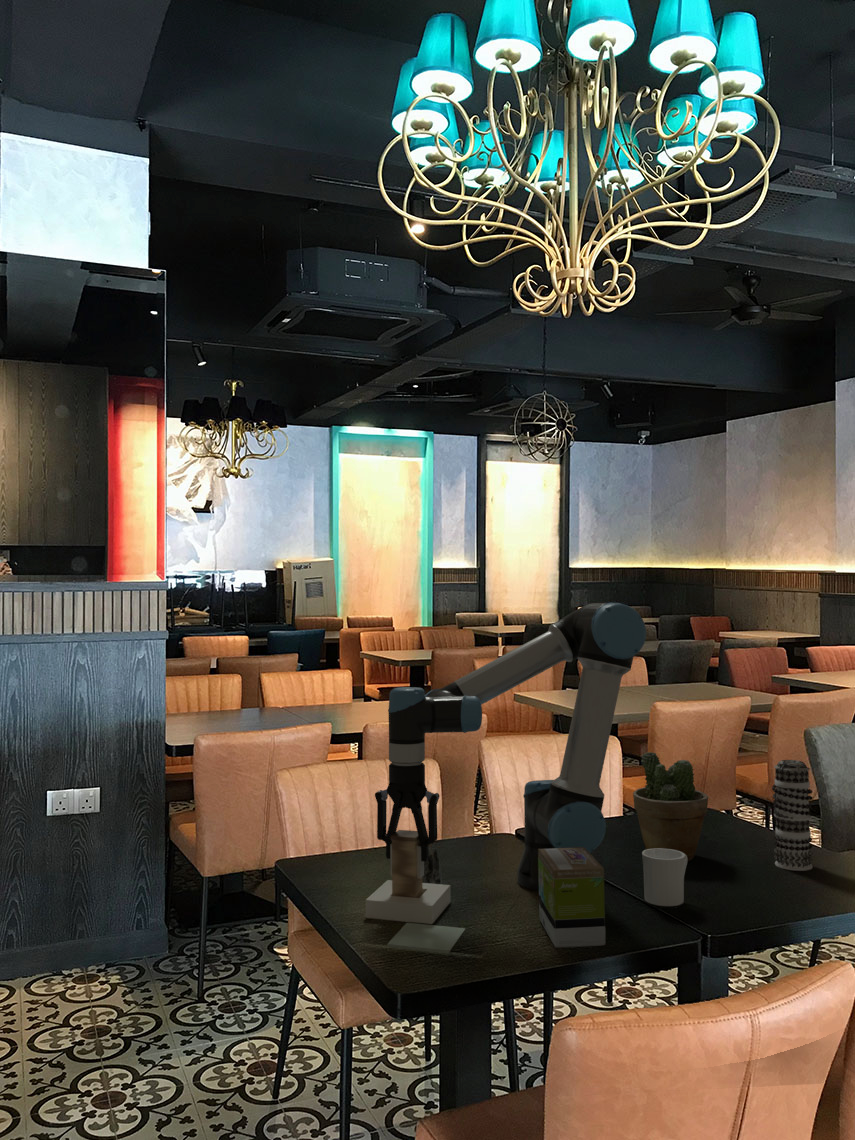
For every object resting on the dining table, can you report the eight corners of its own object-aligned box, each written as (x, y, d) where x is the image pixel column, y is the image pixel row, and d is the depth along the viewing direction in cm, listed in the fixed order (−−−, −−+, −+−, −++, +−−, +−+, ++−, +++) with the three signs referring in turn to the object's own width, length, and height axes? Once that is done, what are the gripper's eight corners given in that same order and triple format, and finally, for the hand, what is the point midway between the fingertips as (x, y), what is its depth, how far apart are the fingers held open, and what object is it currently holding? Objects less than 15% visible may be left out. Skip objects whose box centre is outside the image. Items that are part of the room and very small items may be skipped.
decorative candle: (772, 869, 223) (770, 763, 224) (773, 859, 232) (772, 757, 233) (813, 873, 220) (812, 765, 221) (813, 862, 229) (811, 759, 229)
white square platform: (450, 904, 199) (450, 885, 199) (432, 926, 185) (432, 905, 185) (387, 898, 203) (387, 879, 203) (365, 919, 189) (365, 899, 189)
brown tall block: (423, 898, 196) (423, 831, 196) (416, 906, 191) (415, 837, 191) (399, 895, 197) (398, 829, 198) (391, 903, 192) (390, 836, 193)
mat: (465, 931, 182) (465, 928, 182) (449, 953, 171) (449, 950, 171) (406, 925, 186) (406, 922, 186) (387, 947, 174) (387, 944, 174)
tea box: (537, 921, 188) (536, 846, 189) (586, 919, 189) (585, 845, 190) (553, 948, 173) (553, 868, 174) (607, 946, 174) (606, 866, 175)
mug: (662, 912, 193) (661, 861, 193) (633, 900, 201) (633, 851, 201) (702, 904, 198) (701, 854, 198) (672, 892, 206) (672, 845, 206)
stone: (448, 842, 210) (408, 836, 215) (434, 880, 203) (393, 874, 207) (458, 867, 216) (419, 862, 220) (445, 905, 209) (404, 899, 213)
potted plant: (718, 852, 238) (716, 753, 239) (696, 870, 222) (695, 764, 223) (648, 843, 248) (646, 748, 249) (622, 859, 232) (621, 758, 233)
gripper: (453, 761, 196) (454, 873, 195) (371, 757, 201) (372, 867, 200) (444, 767, 189) (444, 884, 188) (359, 763, 194) (360, 877, 193)
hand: (407, 875), depth 194 cm, fingers closed on brown tall block, 5 cm apart
